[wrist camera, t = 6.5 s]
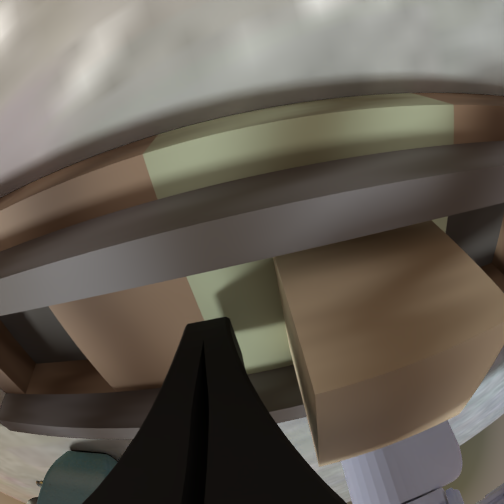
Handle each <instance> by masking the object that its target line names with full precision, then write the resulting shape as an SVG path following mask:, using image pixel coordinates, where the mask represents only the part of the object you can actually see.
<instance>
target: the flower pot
mask: <svg viewBox="0 0 504 504" xmlns="http://www.w3.org/2000/svg"><path fill="white" fill-rule="evenodd" d="M116 464H117V461H116V460H114V459H113V458H112V457H110V456H109V455H107V454H100V453H86V452H76V451H67V452H66V453H64V454H63V455H62V456H61V457H60V458H58V459H57V460H56V461H55V462H54V463H53V465H52V466H51V467H50V469H49V470H48V472H47V473H46V475H45V478H44V480H43V483H42V486H41V490H40V493H39V497H38V500H37V504H82V503H83V502H84V501H85V500H86V499H87V498H88V497H89V496H90V495H91V494H92V493H93V492H94V490H95V489H96V488H97V487H98V486H99V485H100V484H101V482H102V481H103V480H104V479H105V477H106V476H107V475H108V474H109V472H110V471H111V470H112V469H113V467H114V466H115V465H116Z"/></svg>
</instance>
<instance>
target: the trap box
mask: <svg viewBox="0 0 504 504" xmlns="http://www.w3.org/2000/svg"><path fill="white" fill-rule="evenodd" d="M430 220H432V221H433V222H434V223H435V224H436V225H437V226H438V227H439V228H440V229H441V230H443V231H444V232H445V233H446V234H447V235H448V236H449V237H450V238H451V239H452V240H453V241H454V242H455V243H456V244H457V245H458V246H459V247H460V248H461V249H462V250H463V251H464V252H465V253H466V254H467V255H468V256H469V257H470V258H471V259H472V260H473V261H474V262H475V263H476V264H477V265H478V266H479V267H480V268H481V269H482V270H483V271H484V272H485V273H486V274H487V275H488V276H489V277H490V278H491V280H492V281H493V282H494V283H495V284H496V285H497V286H498V287H499V288H500V290H501V291H502V292H503V293H504V96H496V95H484V94H466V93H397V94H378V95H364V96H353V97H342V98H333V99H324V100H317V101H309V102H302V103H295V104H289V105H283V106H277V107H271V108H266V109H260V110H255V111H250V112H245V113H240V114H236V115H231V116H227V117H222V118H218V119H214V120H210V121H205V122H201V123H198V124H194V125H190V126H186V127H182V128H179V129H175V130H172V131H168V132H165V133H161V134H158V135H155V136H151V137H148V138H145V139H142V140H139V141H136V142H133V143H130V144H127V145H124V146H121V147H118V148H115V149H112V150H109V151H107V152H104V153H101V154H98V155H96V156H93V157H91V158H88V159H85V160H83V161H80V162H78V163H75V164H73V165H70V166H68V167H66V168H63V169H61V170H59V171H56V172H54V173H52V174H49V175H47V176H45V177H43V178H40V179H38V180H36V181H34V182H32V183H30V184H28V185H25V186H23V187H21V188H19V189H17V190H15V191H13V192H11V193H9V194H7V195H5V196H3V197H1V198H0V388H1V389H2V390H3V391H4V392H5V393H6V394H5V397H4V400H3V402H2V405H1V408H0V423H1V424H3V425H4V426H5V427H6V428H8V429H9V430H11V431H17V432H24V433H31V434H38V435H47V436H57V437H69V438H86V439H134V437H135V436H136V434H137V432H138V431H139V429H140V427H141V425H142V424H143V422H144V420H145V418H146V417H147V415H148V413H149V411H150V409H151V407H152V405H153V403H154V401H155V399H156V397H157V395H158V393H159V391H160V389H161V387H162V384H163V382H164V380H165V377H166V375H167V373H168V370H169V368H170V366H171V363H172V361H173V358H174V356H175V353H176V351H177V348H178V346H179V343H180V340H181V337H182V335H183V332H184V329H185V327H186V325H187V324H189V323H195V322H200V321H205V320H210V319H215V318H220V317H228V318H230V321H231V324H232V326H233V329H234V332H235V335H236V338H237V341H238V344H239V346H240V349H241V352H242V356H243V361H244V365H245V369H246V373H247V375H248V377H249V379H250V381H251V383H252V384H253V386H254V388H255V390H256V392H257V393H258V395H259V397H260V399H261V400H262V402H263V404H264V405H265V407H266V408H267V410H268V411H269V413H270V414H271V416H272V418H273V419H274V420H275V422H276V423H281V422H285V421H290V420H294V419H299V418H303V417H307V415H306V411H305V407H304V403H303V399H302V395H301V391H300V388H299V384H298V380H297V376H296V372H295V368H294V364H293V360H292V356H291V352H290V348H289V342H288V337H287V331H286V325H285V320H284V314H283V309H282V304H281V298H280V293H279V287H278V282H277V277H276V271H275V266H274V261H273V257H276V256H280V255H285V254H289V253H293V252H298V251H302V250H306V249H311V248H315V247H320V246H324V245H328V244H332V243H337V242H341V241H345V240H350V239H354V238H358V237H363V236H367V235H371V234H375V233H380V232H384V231H388V230H392V229H397V228H401V227H405V226H409V225H413V224H418V223H422V222H426V221H430Z"/></svg>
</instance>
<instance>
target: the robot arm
mask: <svg viewBox="0 0 504 504" xmlns="http://www.w3.org/2000/svg"><path fill="white" fill-rule="evenodd" d="M341 464H342V467H343V471H344V474H345V478H346V482H347V485H348V489H349V493H350V496H351V500H352V503H353V504H464V502H463V499H462V497H461V494H460V492H459V490H456V489H454V490H453V488H450V489H448V490H446V494H445V492H444V489H443V488H441V487H443V486H445V485H447V484H448V483H451V482H452V481H454V480H455V479H456V478H458V476H459V475H460V473H461V470H462V456H461V451H460V447H459V445H458V442H457V440H456V438H455V435H454V433H453V431H452V429H451V427H450V425H449V422H448V420H446V421H444V422H442V423H440V424H438V425H436V426H434V427H432V428H429V429H427V430H425V431H423V432H420V433H418V434H416V435H413V436H411V437H409V438H406V439H404V440H401V441H399V442H396V443H393V444H391V445H388V446H385V447H383V448H380V449H377V450H374V451H371V452H368V453H365V454H362V455H359V456H356V457H353V458H349V459H346V460H342V461H341ZM439 488H440V489H439ZM437 489H438V490H437ZM446 495H447V497H446ZM447 498H448V500H447ZM82 504H346V502H345V501H344V500H343V499H342V498H341V497H340V496H339V495H338V494H336V493H335V492H334V491H333V490H332V489H331V488H330V487H329V486H328V485H327V484H326V483H325V482H324V481H323V480H322V479H321V477H320V476H319V475H318V474H317V473H316V472H315V471H314V470H313V469H312V468H311V466H310V465H309V464H308V463H307V462H306V461H305V460H304V458H303V457H302V456H301V455H300V453H299V452H298V451H297V450H296V449H295V447H294V446H293V445H292V444H291V442H290V441H289V440H288V439H287V437H286V436H285V435H284V433H283V432H282V430H281V429H280V428H279V426H278V425H277V423H276V422H275V420H274V419H273V418H272V416H271V414H270V413H269V411H268V410H267V408H266V407H265V405H264V404H263V402H262V400H261V399H260V397H259V395H258V393H257V392H256V390H255V388H254V386H253V384H252V383H251V381H250V379H249V377H248V375H247V373H246V369H245V365H244V361H243V356H242V352H241V349H240V346H239V344H238V341H237V338H236V335H235V332H234V329H233V326H232V324H231V321H230V318H228V317H220V318H215V319H210V320H205V321H200V322H195V323H189V324H187V325H186V327H185V329H184V332H183V335H182V337H181V340H180V343H179V346H178V348H177V351H176V353H175V356H174V358H173V361H172V363H171V366H170V368H169V370H168V373H167V375H166V377H165V380H164V382H163V384H162V387H161V389H160V391H159V393H158V395H157V397H156V399H155V401H154V403H153V405H152V407H151V409H150V411H149V413H148V415H147V417H146V418H145V420H144V422H143V424H142V425H141V427H140V429H139V431H138V432H137V434H136V436H135V437H134V439H133V440H132V442H131V443H130V445H129V446H128V448H127V449H126V451H125V452H124V454H123V455H122V457H121V458H120V459H119V461H118V462H117V464H116V465H115V466H114V467H113V469H112V470H111V471H110V472H109V474H108V475H107V476H106V477H105V479H104V480H103V481H102V482H101V484H100V485H99V486H98V487H97V488H96V489H95V490H94V492H93V493H92V494H91V495H90V496H89V497H88V498H87V499H86V500H85V501H84V502H83V503H82ZM476 504H504V483H503V484H501V485H500V486H499V487H497V488H496V489H494V490H493V491H491V492H490V493H488V494H487V495H486V496H485V498H484V499H482V500H480V501H479V502H477V503H476Z"/></svg>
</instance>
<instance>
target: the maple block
mask: <svg viewBox="0 0 504 504" xmlns="http://www.w3.org/2000/svg"><path fill="white" fill-rule="evenodd" d="M273 261H274V266H275V271H276V277H277V282H278V287H279V293H280V298H281V304H282V309H283V314H284V320H285V325H286V331H287V337H288V342H289V348H290V352H291V356H292V360H293V364H294V368H295V372H296V376H297V380H298V384H299V388H300V391H301V395H302V399H303V403H304V407H305V411H306V415H307V419H308V423H309V427H310V431H311V435H312V439H313V443H314V447H315V452H316V456H317V460H318V464H319V467H320V466H324V465H328V464H332V463H335V462H339V461H342V460H346V459H349V458H353V457H356V456H359V455H362V454H365V453H368V452H371V451H374V450H377V449H380V448H383V447H385V446H388V445H391V444H393V443H396V442H399V441H401V440H404V439H406V438H409V437H411V436H413V435H416V434H418V433H420V432H423V431H425V430H427V429H429V428H432V427H434V426H436V425H438V424H440V423H442V422H444V421H446V420H448V419H450V418H452V417H454V416H456V415H458V414H460V412H461V411H462V410H463V408H464V407H465V405H466V404H467V403H468V401H469V400H470V398H471V397H472V396H473V394H474V393H475V391H476V390H477V388H478V387H479V385H480V384H481V382H482V381H483V379H484V377H485V376H486V374H487V373H488V371H489V369H490V368H491V366H492V365H493V363H494V361H495V359H496V358H497V356H498V354H499V353H500V351H501V349H502V347H503V345H504V293H503V292H502V291H501V290H500V288H499V287H498V286H497V285H496V284H495V283H494V282H493V281H492V280H491V278H490V277H489V276H488V275H487V274H486V273H485V272H484V271H483V270H482V269H481V268H480V267H479V266H478V265H477V264H476V263H475V262H474V261H473V260H472V259H471V258H470V257H469V256H468V255H467V254H466V253H465V252H464V251H463V250H462V249H461V248H460V247H459V246H458V245H457V244H456V243H455V242H454V241H453V240H452V239H451V238H450V237H449V236H448V235H447V234H446V233H445V232H444V231H443V230H441V229H440V228H439V227H438V226H437V225H436V224H435V223H434V222H433V221H432V220H430V221H426V222H422V223H418V224H413V225H409V226H405V227H401V228H397V229H392V230H388V231H384V232H380V233H375V234H371V235H367V236H363V237H358V238H354V239H350V240H345V241H341V242H337V243H332V244H328V245H324V246H320V247H315V248H311V249H306V250H302V251H298V252H293V253H289V254H285V255H280V256H276V257H273Z"/></svg>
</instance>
